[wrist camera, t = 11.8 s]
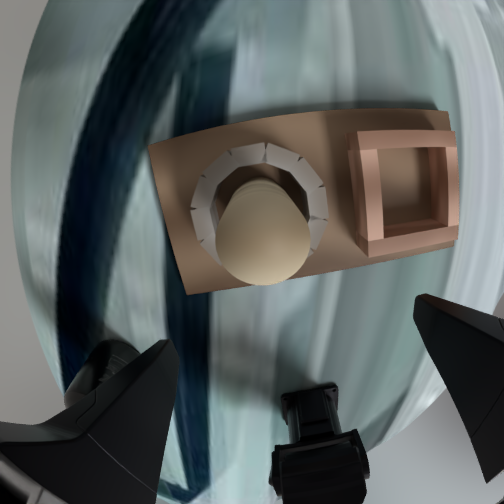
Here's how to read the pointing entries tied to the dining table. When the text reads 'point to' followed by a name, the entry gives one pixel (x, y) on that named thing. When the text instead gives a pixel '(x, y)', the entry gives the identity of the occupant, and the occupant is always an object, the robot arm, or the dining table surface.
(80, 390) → the supplement bottle
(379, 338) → the dining table surface
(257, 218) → the round peg
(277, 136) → the socket board
